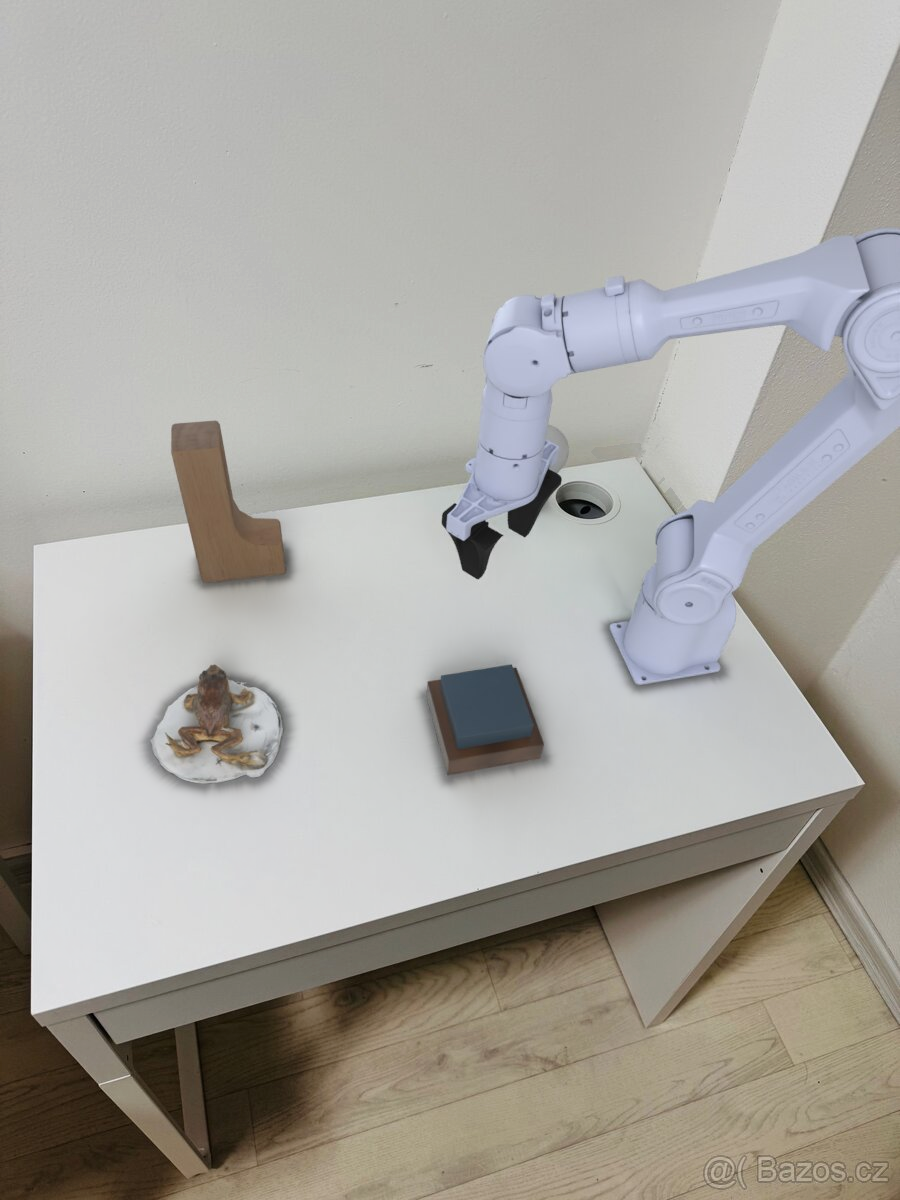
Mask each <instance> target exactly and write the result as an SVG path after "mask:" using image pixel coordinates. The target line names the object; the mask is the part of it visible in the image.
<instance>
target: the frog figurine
mask: <svg viewBox="0 0 900 1200" xmlns="http://www.w3.org/2000/svg"><path fill="white" fill-rule="evenodd" d="M198 678H199V679H198V683H197V685H195V686H194V687H191V688H189V689H187V691H185V692H184V693H183V694H181V695H179V697H177V699H176V700H175V701H173V702H172V703H171V704H170V705H168V706H167V708H166V711H165V713H164V715H163V718H162V719H161V721H160V722H159V724H158V725H157V726H156V731H154V735H153V737H152V738H150V740H149V741H150V744H151V749H152V753H153V756H155V758H156V759H157V760H158V762H159V764H160V766H161V767H163V768H164V769H165V771H167V772H168V773H170V774H173V775H174V776H176V777H177V778H179V779H181V780H183V781H185V782H191V783H196V784H203V785H204V784H205V785H206V784H211V783H213V784H215V783H222V782H228V781H231V780H235V779H238V778H240V777H242V776H243V777H244V776H247V777H249V778H259V777H261V776H262V775H263V774H264V773H265V772H266V770H267V769H268V768H269V767H271V765H272V764H273V763H274V761H275V759H276V758H277V755H278V753H279V750H280V745H281V741H282V737H283V732H284V728H283V719H282V713H280V711H279V710H278V705H277V704H276V703H275V701H274V700H273V699H272V698H271V697H270V696H269V695H268V694H267V693H266V692H265V691H263V690H261V689H260V688H258V687H257V686H252V687H249V686H246V685H245V684H246V681H245V682H242V681H235V680H233V679H229V678H228V676H227V672H226V671H225V670H223V669H222V668H221V667H220V666H218V665H217V664H210V665H209V667H207V669H206V670H203V671H202V672H201V673H200V674H199V676H198ZM239 683H240V684H239Z"/></svg>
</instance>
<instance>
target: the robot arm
mask: <svg viewBox="0 0 900 1200" xmlns="http://www.w3.org/2000/svg"><path fill="white" fill-rule="evenodd" d="M774 326H785V327H787V328H789V329H790V330H792V331H793V332H795V333H796V334H798V335H799V336H800V337H802V338H804V339H805V340H806V341H808V342H809V343H811V344H812V345H814V346H815V347H817V348H818V349H819V350H820V351H823V352H826V353H827V352H830V349H831V346H832V344H833V341H834V337H839V338H841V345H842V349H843V353H844V355H845V360H846V375H845V376H844V378H842V379H841V380H840V381H839V382H838V383H837V384H836V385H835V386H834V387H833V388H832V389H831V390H830V391H829V392H827V394H825V396H824V397H822V399H820V400H819V401H818V402H817V403H816V404H815V405H814V406H813V407H812V408H811V409H810V410H808V412H807V413H806V414H805V415H804V416H803V417H801V418H800V420H798V421H797V423H795V424H794V425H793V426H792V427H791V428H790V429H789V430H787V432H785V433H784V435H782V437H780V439H779V440H777V441H776V443H774V444H773V445H772V446H771V447H770V448H769V449H768V450H767V451H766V452H765V453H764V454H763V455H762V456H761V457H760V458H759V459H757V461H755V462H754V463H753V464H752V465H751V466H750V467H749V468H748V469H747V470H746V471H745V472H744V473H743V474H742V475H740V477H739V478H738V479H736V481H734V482H733V483H732V484H731V485H730V486H729V487H728V488H727V489H726V490H725V491H724V492H723V493H722V494H721V495H720V496H719V497H718V498H717V499H715V501H714V502H712V501H708V500H703V499H699V500H696V502H695V503H694V504H693V505H692V506H690V507H689V508H688V509H686V510H684V511H682V512H680V513H676V514H674V515H672V516H669V517H668V518H666V519H665V520H663V521H662V522H661V523H660V525H659V526H658V528H657V529H656V532H655V545H656V559H655V560H656V562H655V563H654V564H653V566H652V567H651V568H650V569H649V570H647V572H646V574H645V576H644V578H643V581H642V583H641V586H640V590H639V592H638V595H637V598H636V600H635V604H634V607H633V610H632V613H631V616H630V619H629V620H625V621H619V622H618V621H617V622H612V623H610V624H609V627H608V629H609V631H610V633H611V635H612V639H613V640H614V642H615V644H616V646H617V648H618V651H619V652H620V655H621V657H622V660H623V661H624V663H625V666H626V667H627V670H628V672H629V674H630V676H631V678H632V680H633V682H634V684H636V685H638V686H643V685H648V684H654V683H655V684H656V683H660V682H665V681H673V680H678V679H684V678H689V677H695V676H702V675H707V674H713V673H718V672H720V670H721V665H720V663H719V660H720V657H721V656H722V653H723V651H724V648H725V647H726V644H727V643H728V641H729V638H730V636H731V634H732V633H733V630H734V628H735V626H736V622H737V621H736V620H737V605H736V600H735V597H734V595H733V593H734V592H735V591H736V590H737V589H738V588H739V587H740V586H741V584H742V581H743V579H744V576H745V574H746V571H747V568H748V565H749V562H750V560H751V558H752V555H753V552H754V551H755V550H756V549H758V547H759V546H761V545H762V544H763V543H764V542H765V541H766V540H767V539H769V538H770V537H771V536H772V535H773V534H775V533H776V532H777V531H779V529H780V528H782V527H783V526H784V525H785V524H786V523H787V522H789V521H790V520H791V519H792V518H793V517H795V516H796V515H797V514H798V513H799V512H801V511H802V510H803V509H804V508H805V507H807V506H808V505H809V504H811V502H812V501H813V500H815V499H816V498H817V497H818V496H819V495H821V494H822V493H823V492H824V491H825V490H827V488H829V487H830V486H831V485H832V484H834V483H835V482H836V481H837V480H838V479H840V477H842V476H843V475H844V474H845V473H846V472H848V471H849V470H850V469H851V468H853V467H854V466H855V465H856V464H857V463H858V462H859V461H860V460H862V459H863V458H864V457H865V456H867V454H869V453H870V452H871V451H873V449H875V448H876V447H877V446H878V445H880V443H882V442H883V441H884V440H885V439H887V437H889V436H890V435H891V434H893V433H894V432H895V431H897V429H898V428H899V427H900V228H897V227H879V228H876V229H871V230H868V231H866V232H862V233H861V234H860V235H859V234H858V235H857V236H856V237H855V235H854V234H848V235H847V234H846V235H836V236H833V237H830V238H828V239H827V240H825V241H822V242H821V243H819V244H817V245H815V246H812V247H810V248H809V249H807V250H804V251H802V252H799V253H797V254H793V255H790V256H786V257H783V258H779V259H775V260H772V261H768V262H763V263H761V264H757V265H753V266H751V267H747V268H743V269H739V270H735V271H731V272H728V273H723V274H721V275H716V276H714V277H710V278H705V279H703V280H698V281H696V282H691V283H687V284H685V285H681V286H677V287H673V288H670V289H666V290H663V289H661V288H659V287H656V286H655V285H653V284H652V283H650V282H649V281H646V280H644V279H641V278H639V279H635V280H630V281H629V280H628V281H625V276H624V275H617V276H613V277H609V278H607V279H606V280H605V286H602V287H598V288H593V289H589V290H584V291H580V292H575V293H571V294H567V295H561V296H558V297H557V296H556V293H550V294H546V295H542V296H541V297H538V296H537V295H533V294H523V295H517V296H514V297H512V298H510V299H508V300H506V301H505V302H504V304H503V305H502V306H499V308H498V310H497V311H496V313H495V315H494V318H493V319H492V321H491V326H490V331H489V334H488V338H487V341H486V344H485V347H484V352H483V363H482V364H483V370H484V374H485V385H484V388H483V390H482V397H481V405H480V406H481V407H480V416H479V425H478V438H477V446H476V447H477V448H476V456H474V457H473V458H472V459H470V460H468V462H466V464H465V472H466V473H468V474H470V477H469V479H468V481H467V483H466V485H465V487H464V489H463V491H462V493H461V495H460V498H458V501H457V503H456V502H454V503H453V504H451V505H450V506H449V507H448V508H446V509H445V510H444V511H443V512H442V514H441V525H442V526H443V528H444V529H445V531H446V532H447V533H448V535H449V536H450V538H451V540H452V542H453V544H454V546H455V549H456V551H457V555H458V558H459V561H460V562H459V563H460V567H461V570H462V571H463V572H464V573H466V574H467V575H469V576H471V577H472V578H474V579H475V580H480V579H481V578H482V577H483V576H484V574H485V573H486V571H487V567H488V565H489V560H490V557H491V554H492V551H493V550H494V548H495V546H496V545H497V543H498V542H499V540H501V538H502V537H504V534H502V533H500V532H498V531H497V530H495V529H493V528H492V527H490V526H489V525H490V523H489V521H487V520H489V519H492V518H494V517H497V516H500V515H502V514H505V513H507V527H508V529H509V530H511V531H513V532H514V533H516V534H518V535H519V536H521V537H523V538H526V537H527V536H529V534H530V533H531V531H532V529H533V528H534V526H535V523H536V522H537V520H538V518H539V515H540V513H541V511H542V510H543V508H544V506H545V504H546V503H547V502H548V500H549V499H550V498H551V496H552V495H553V494H554V493H555V492H556V490H557V489H558V488H560V486H561V485H562V481H563V478H562V476H561V475H560V474H559V473H555V472H554V471H552V470H550V469H549V467H551V466H553V465H554V464H555V463H556V462H557V457H558V452H559V446H557V445H555V444H554V443H552V442H550V441H548V440H546V434H547V428H548V425H549V421H550V415H551V411H552V405H553V392H552V388H553V387H554V385H555V384H556V383H557V382H558V381H560V380H561V379H566V378H568V375H574V374H578V373H584V372H589V371H594V370H600V369H606V368H611V367H617V366H623V365H628V364H633V363H637V362H643V361H649V360H652V359H653V358H654V357H655V356H656V355H657V354H658V352H659V351H660V350H661V349H662V347H663V346H664V345H665V344H666V343H667V342H668V341H670V340H675V339H682V338H691V337H698V336H706V335H713V334H721V333H728V332H736V331H737V332H738V331H744V330H752V329H760V328H766V327H774Z"/></svg>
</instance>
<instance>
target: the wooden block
mask: <svg viewBox="0 0 900 1200" xmlns="http://www.w3.org/2000/svg"><path fill="white" fill-rule="evenodd" d="M170 432H171V435H170V438H171V439H170V440H171V441H170V453H171V454H170V455H171V456H172V457H171V458H172V462H173V466H174V470H175V471H174V472H175V474H176V478H177V482H178V487H179V492H180V496H181V499H182V504H183V509H184V512H185V516H186V520H187V521H186V522H187V524H188V529H189V533H190V537H191V542H192V546H193V549H194V554H195V558H196V562H197V566H198V567H197V568H198V570H199V575H200V579H201V581H202V583H205V584H207V583H216V582H225V581H233V580H243V579H251V578H252V579H253V578H262V577H271V576H280V575H285V574H286V571H287V566H286V557H285V550H284V541H283V534H282V524H281V521H280V520H279V519H278V518H262V517H261V518H260V517H253V516H250V515H249V514H247V513H245V512H243V511H242V510H240V508H239V506H238V505H237V503H236V501H235V499H234V495H233V490H232V484H231V479H230V473H229V468H228V462H227V456H226V451H225V444H224V440H223V435H222V429H221V424H220V423H219V421H218V420H205V421H191V422H190V421H189V422H176V423H172V425H171V431H170Z"/></svg>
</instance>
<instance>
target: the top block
mask: <svg viewBox="0 0 900 1200" xmlns="http://www.w3.org/2000/svg"><path fill="white" fill-rule="evenodd" d="M513 668H514V666H513V664H506V665H500V666H493V667H485V668H480V669H473V670H468V671H460V672H455V673H448V674H442V675H440V679H441V680H440V679H439V680H440V690H441V694H442V697H443V701H444V705H445V708H446V712H447V715H448V719H449V722H450V726H451V729H452V733H453V736H454V740H455V744H456V747H457V750H458V749H464V748H470V747H475V746H481V745H487V744H492V743H498V742H503V741H509V740H515V739H520V738H526V737H531V733H532V729H533V722H532V719H531V716H530V713H529V711H528V708H527V705H526V702H525V699H524V697H523V694H522V691H521V688H520V686H519V683H518V680H517V677H516V674H515V672H514V669H513Z"/></svg>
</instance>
